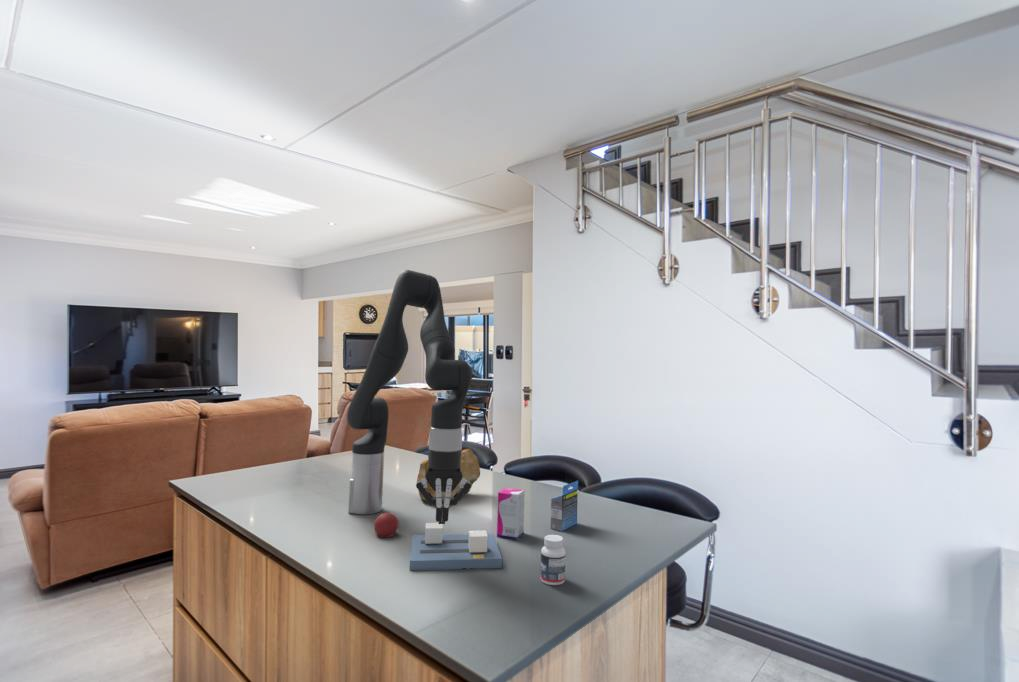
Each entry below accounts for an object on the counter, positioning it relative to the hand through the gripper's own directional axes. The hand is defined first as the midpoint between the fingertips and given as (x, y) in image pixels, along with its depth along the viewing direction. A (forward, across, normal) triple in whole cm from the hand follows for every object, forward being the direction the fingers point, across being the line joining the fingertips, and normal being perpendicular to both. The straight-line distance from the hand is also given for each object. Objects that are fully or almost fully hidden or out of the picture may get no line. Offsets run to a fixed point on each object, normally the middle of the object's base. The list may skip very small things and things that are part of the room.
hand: (441, 523), depth 117 cm
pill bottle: (+8, +23, -12) cm, 28 cm away
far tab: (+6, -2, +6) cm, 9 cm away
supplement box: (+9, +18, +16) cm, 26 cm away
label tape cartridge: (+9, +34, +22) cm, 42 cm away
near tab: (+6, +8, 0) cm, 11 cm away
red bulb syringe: (+9, -15, +17) cm, 24 cm away
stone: (+9, +1, +55) cm, 56 cm away
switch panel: (+8, +3, +3) cm, 9 cm away
